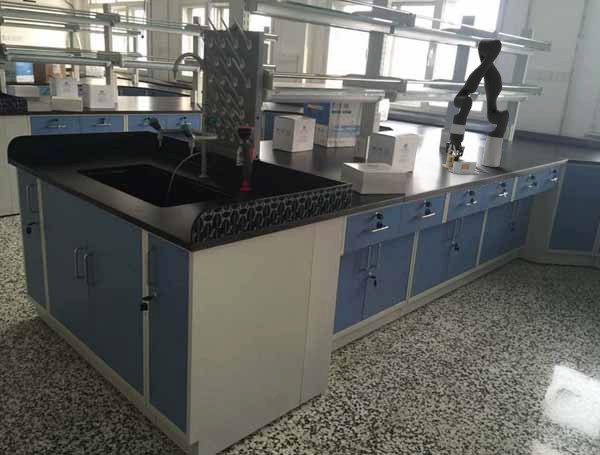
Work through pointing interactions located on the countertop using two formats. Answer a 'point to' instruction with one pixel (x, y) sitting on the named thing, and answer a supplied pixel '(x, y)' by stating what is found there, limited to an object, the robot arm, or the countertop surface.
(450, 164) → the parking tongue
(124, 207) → the countertop surface
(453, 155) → the u clip
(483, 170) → the caliper
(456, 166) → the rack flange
